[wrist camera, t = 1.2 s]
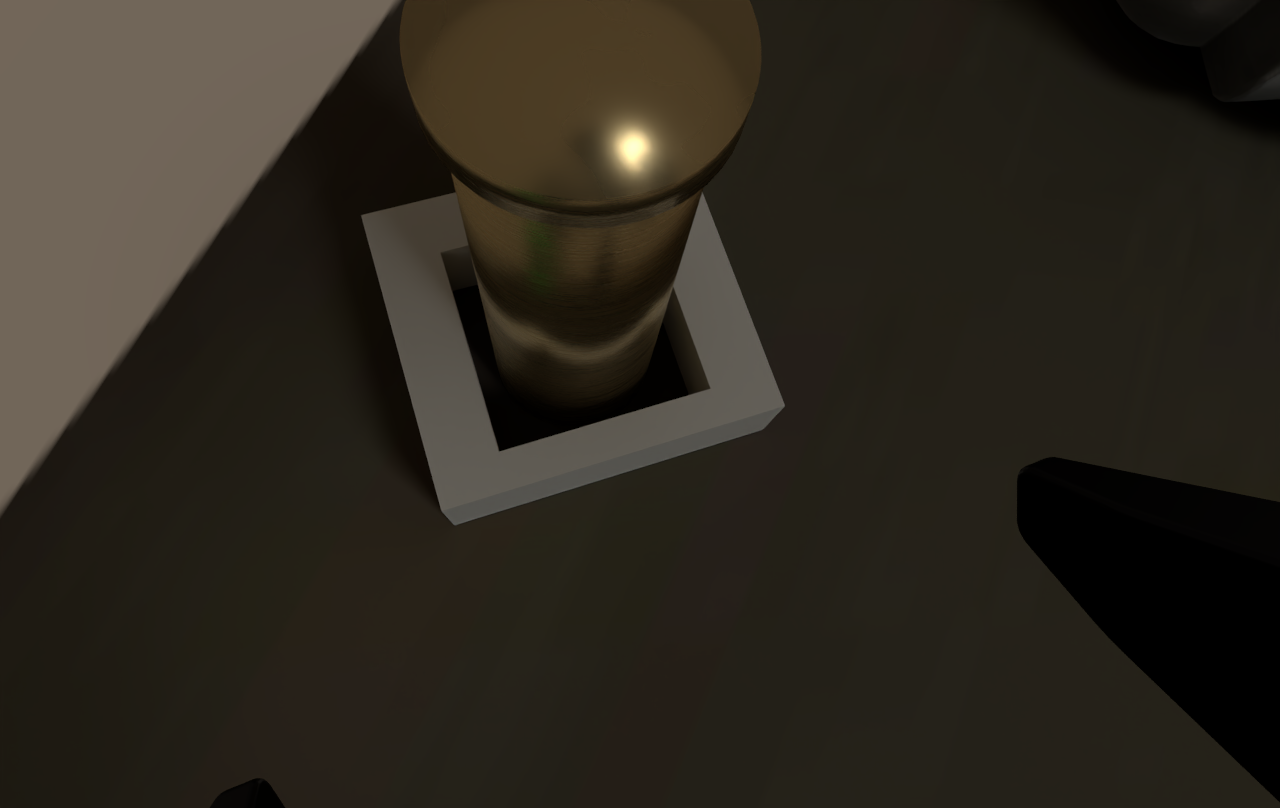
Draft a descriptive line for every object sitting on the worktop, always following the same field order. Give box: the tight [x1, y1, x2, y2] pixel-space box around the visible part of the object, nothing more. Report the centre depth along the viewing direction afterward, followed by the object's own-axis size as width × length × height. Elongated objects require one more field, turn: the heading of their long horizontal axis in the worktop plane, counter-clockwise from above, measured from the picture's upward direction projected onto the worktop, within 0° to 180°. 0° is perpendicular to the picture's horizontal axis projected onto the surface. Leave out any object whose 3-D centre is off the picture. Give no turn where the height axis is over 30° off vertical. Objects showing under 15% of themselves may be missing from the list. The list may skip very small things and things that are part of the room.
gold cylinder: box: [400, 0, 761, 426], centre depth 18 cm, size 5×5×13 cm
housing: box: [361, 192, 785, 525], centre depth 23 cm, size 8×9×2 cm
